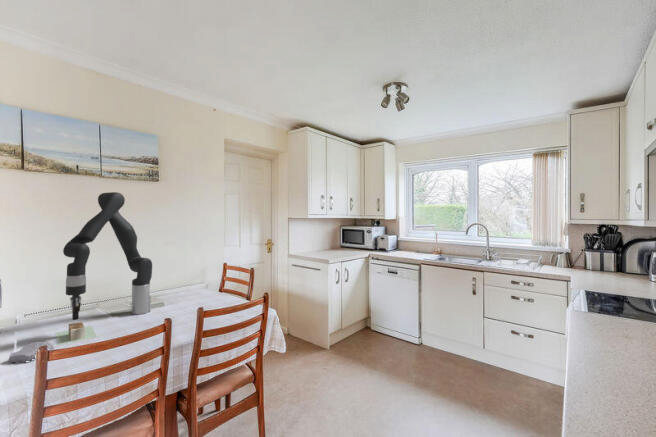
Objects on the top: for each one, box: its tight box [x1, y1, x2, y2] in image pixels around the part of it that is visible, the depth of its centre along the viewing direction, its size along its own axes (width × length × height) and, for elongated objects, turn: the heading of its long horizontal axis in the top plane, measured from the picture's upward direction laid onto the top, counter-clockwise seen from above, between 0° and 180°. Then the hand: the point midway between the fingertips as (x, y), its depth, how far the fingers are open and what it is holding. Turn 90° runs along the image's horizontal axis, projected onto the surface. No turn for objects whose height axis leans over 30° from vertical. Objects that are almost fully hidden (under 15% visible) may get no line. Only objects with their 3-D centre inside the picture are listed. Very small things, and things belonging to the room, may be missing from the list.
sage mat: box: [54, 325, 98, 346], centre depth 146 cm, size 14×18×1 cm
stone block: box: [8, 341, 55, 364], centre depth 126 cm, size 12×5×10 cm
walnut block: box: [68, 321, 86, 341], centre depth 144 cm, size 5×5×10 cm
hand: (75, 319), depth 146 cm, fingers closed
